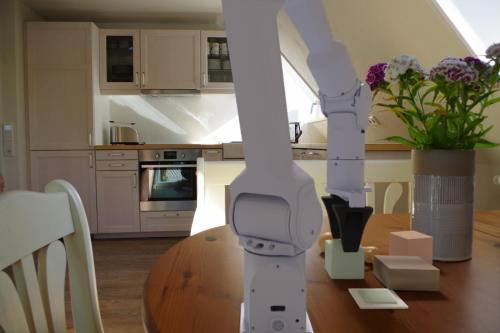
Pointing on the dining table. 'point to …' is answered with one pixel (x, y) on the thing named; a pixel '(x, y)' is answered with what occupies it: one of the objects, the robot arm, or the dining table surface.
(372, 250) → the figurine
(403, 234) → the terracotta block
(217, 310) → the dining table surface
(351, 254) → the sage block
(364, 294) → the swatch
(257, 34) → the robot arm
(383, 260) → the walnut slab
